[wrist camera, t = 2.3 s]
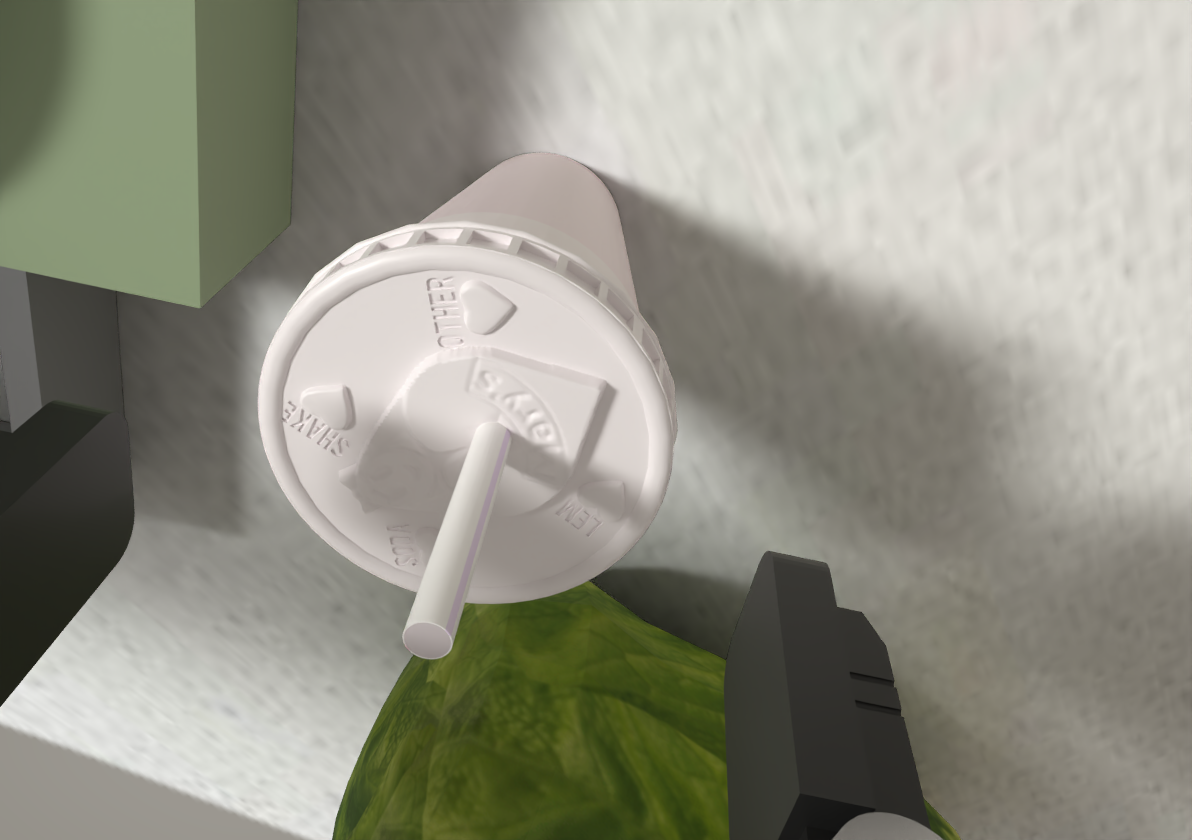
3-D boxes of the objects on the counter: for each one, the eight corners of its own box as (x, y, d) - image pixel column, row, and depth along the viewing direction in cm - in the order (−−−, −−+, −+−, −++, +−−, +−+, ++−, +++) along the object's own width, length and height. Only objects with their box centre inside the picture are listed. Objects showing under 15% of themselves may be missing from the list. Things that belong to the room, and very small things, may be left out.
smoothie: (723, 287, 23) (771, 761, 11) (497, 389, 25) (325, 888, 13) (598, 36, 20) (478, 293, 8) (355, 171, 22) (-31, 542, 10)
